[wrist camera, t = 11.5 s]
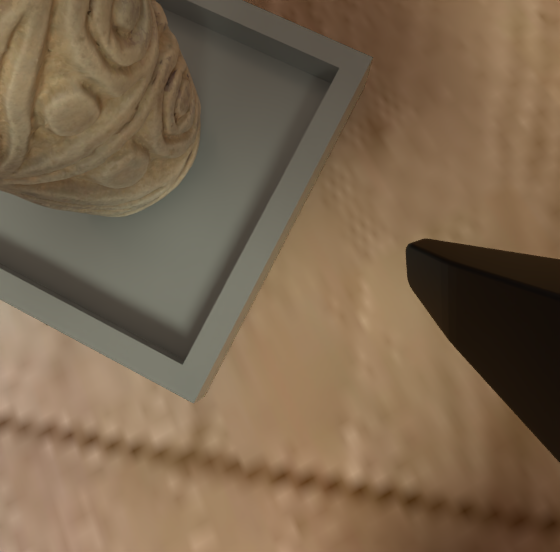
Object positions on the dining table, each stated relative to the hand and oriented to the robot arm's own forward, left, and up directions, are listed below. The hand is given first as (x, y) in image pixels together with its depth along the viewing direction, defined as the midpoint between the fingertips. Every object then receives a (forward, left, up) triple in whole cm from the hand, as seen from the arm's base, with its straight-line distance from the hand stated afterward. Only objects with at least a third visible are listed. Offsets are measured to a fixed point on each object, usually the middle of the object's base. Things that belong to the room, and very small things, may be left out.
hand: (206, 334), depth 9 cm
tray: (+5, +8, -9) cm, 13 cm away
